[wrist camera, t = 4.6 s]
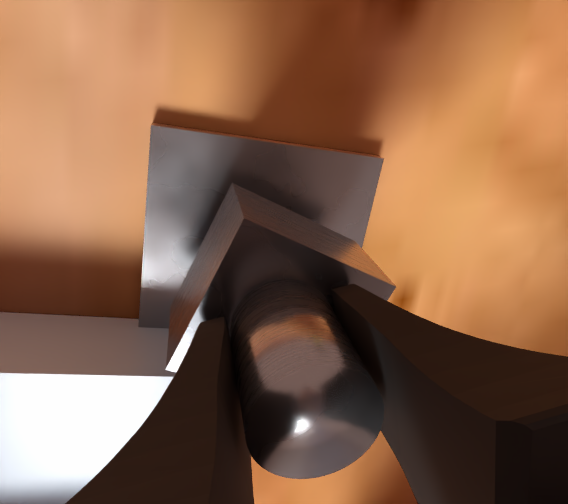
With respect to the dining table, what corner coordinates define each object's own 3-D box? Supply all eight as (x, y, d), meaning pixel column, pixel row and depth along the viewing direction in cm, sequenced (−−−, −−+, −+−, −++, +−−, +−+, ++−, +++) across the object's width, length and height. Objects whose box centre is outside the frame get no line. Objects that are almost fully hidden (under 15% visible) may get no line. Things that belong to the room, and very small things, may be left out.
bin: (182, 321, 18) (180, 377, 15) (161, 523, 22) (156, 602, 19) (-158, 304, 15) (-248, 367, 12) (-112, 537, 19) (-171, 631, 16)
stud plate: (377, 155, 17) (413, 174, 14) (333, 340, 20) (355, 385, 17) (152, 122, 15) (144, 136, 12) (139, 332, 18) (130, 381, 15)
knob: (355, 241, 16) (469, 368, 9) (290, 348, 17) (352, 526, 10) (232, 182, 14) (267, 287, 8) (170, 306, 15) (156, 484, 9)
